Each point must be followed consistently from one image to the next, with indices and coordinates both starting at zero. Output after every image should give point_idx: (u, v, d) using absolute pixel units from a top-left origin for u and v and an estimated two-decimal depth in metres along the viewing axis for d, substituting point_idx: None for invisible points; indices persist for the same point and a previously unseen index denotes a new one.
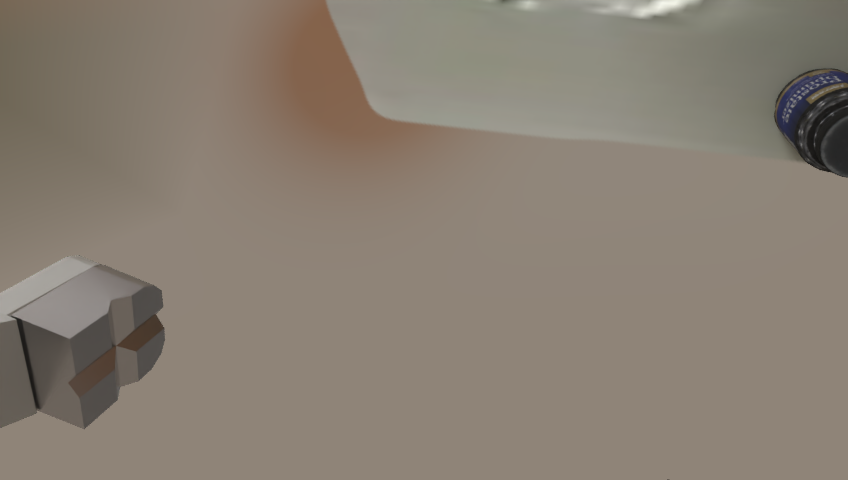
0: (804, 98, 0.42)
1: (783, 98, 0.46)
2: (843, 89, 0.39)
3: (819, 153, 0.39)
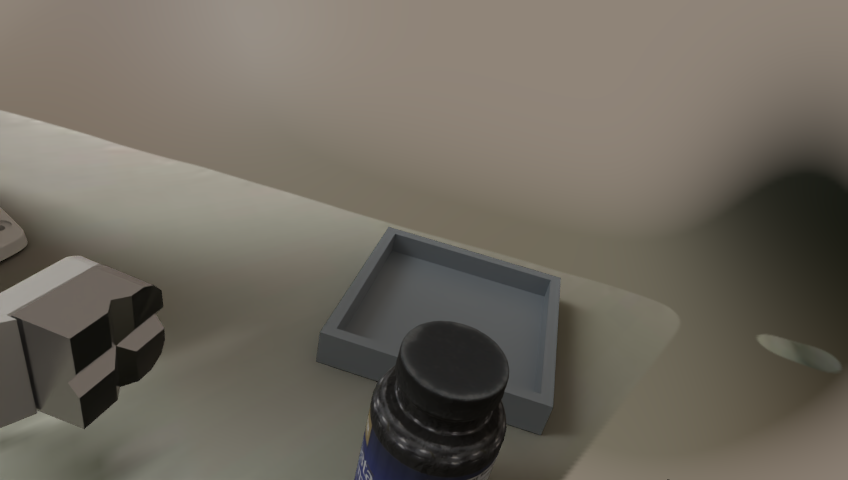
0: (366, 451, 0.25)
1: None
2: (377, 385, 0.26)
3: (439, 399, 0.22)
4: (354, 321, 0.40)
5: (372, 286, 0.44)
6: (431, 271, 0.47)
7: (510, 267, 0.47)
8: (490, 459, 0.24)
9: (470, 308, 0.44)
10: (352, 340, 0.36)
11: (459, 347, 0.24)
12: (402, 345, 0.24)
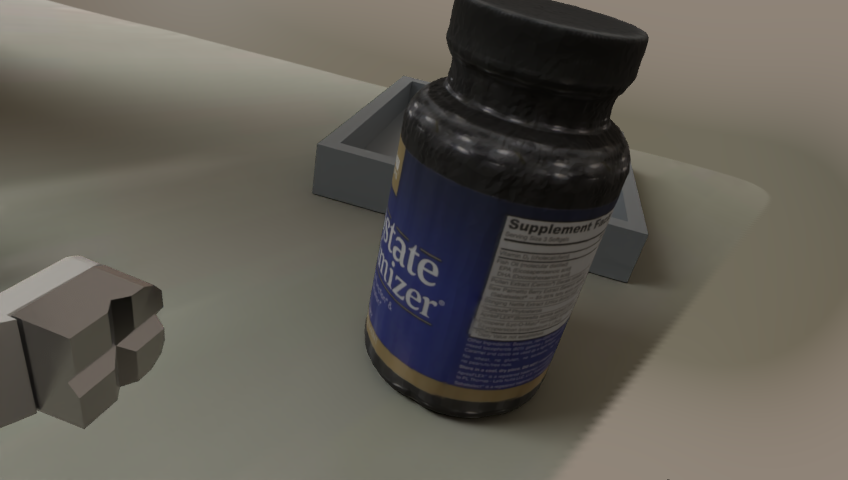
0: (394, 206, 0.15)
1: (387, 335, 0.16)
2: None
3: (539, 33, 0.12)
4: None
5: (385, 130, 0.34)
6: None
7: None
8: (613, 191, 0.14)
9: None
10: (363, 154, 0.26)
11: (555, 8, 0.14)
12: None
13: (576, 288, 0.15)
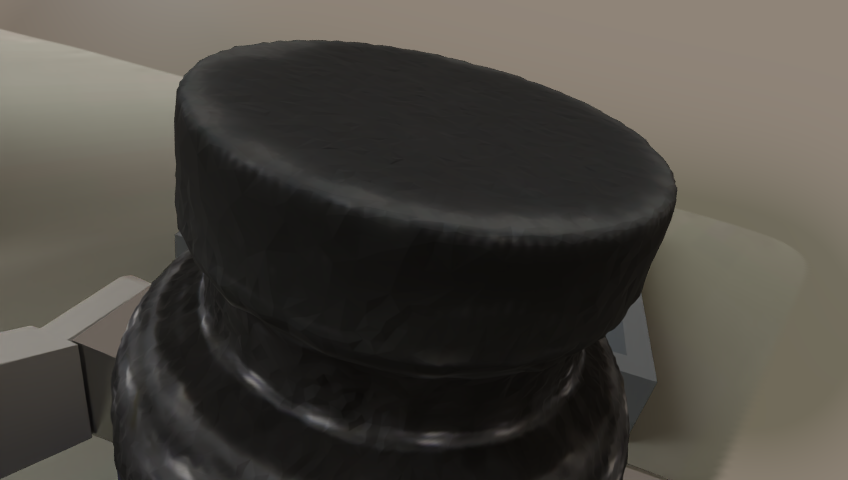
0: None
1: None
2: None
3: (334, 231, 0.04)
4: None
5: None
6: None
7: None
8: None
9: None
10: None
11: (454, 95, 0.06)
12: (208, 58, 0.05)
13: None
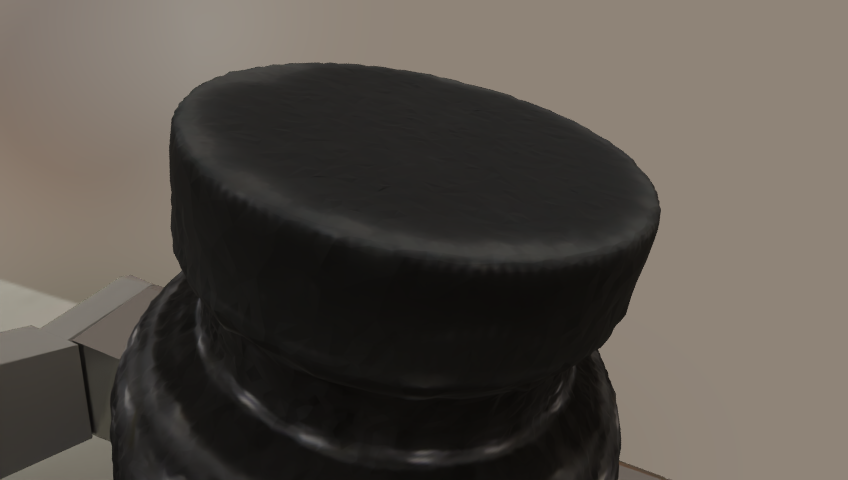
0: None
1: None
2: None
3: (321, 261, 0.04)
4: None
5: None
6: None
7: None
8: None
9: None
10: None
11: (444, 117, 0.06)
12: (203, 85, 0.06)
13: None
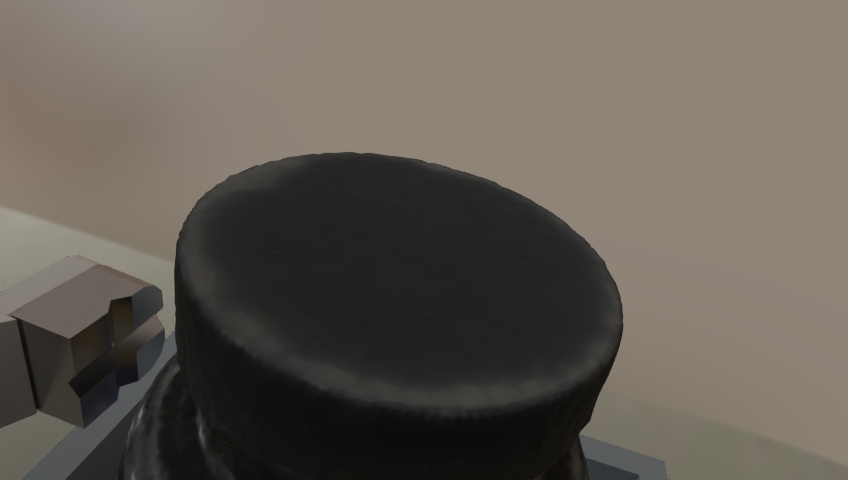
0: None
1: None
2: None
3: (309, 406, 0.04)
4: None
5: None
6: None
7: None
8: None
9: None
10: None
11: (430, 218, 0.07)
12: (205, 197, 0.06)
13: None
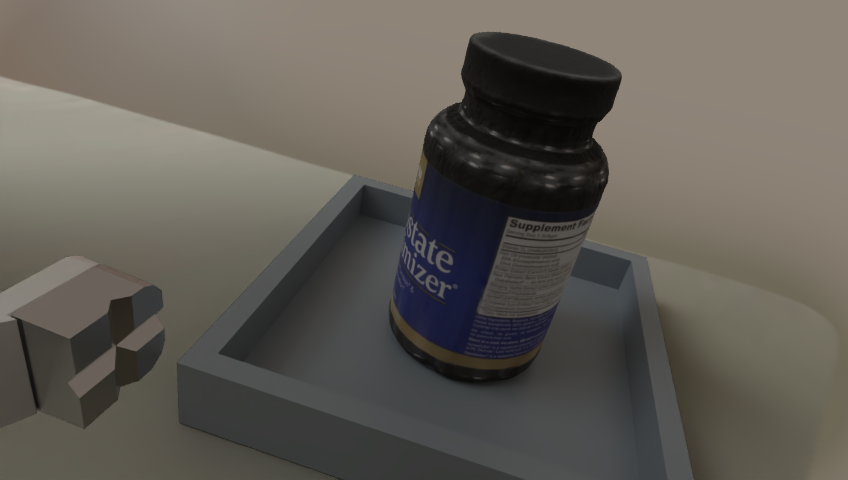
0: (417, 208, 0.19)
1: (409, 314, 0.20)
2: None
3: (533, 76, 0.15)
4: (273, 336, 0.20)
5: (318, 271, 0.24)
6: None
7: None
8: (593, 198, 0.17)
9: None
10: (249, 380, 0.16)
11: (548, 50, 0.18)
12: (472, 37, 0.17)
13: (564, 276, 0.19)
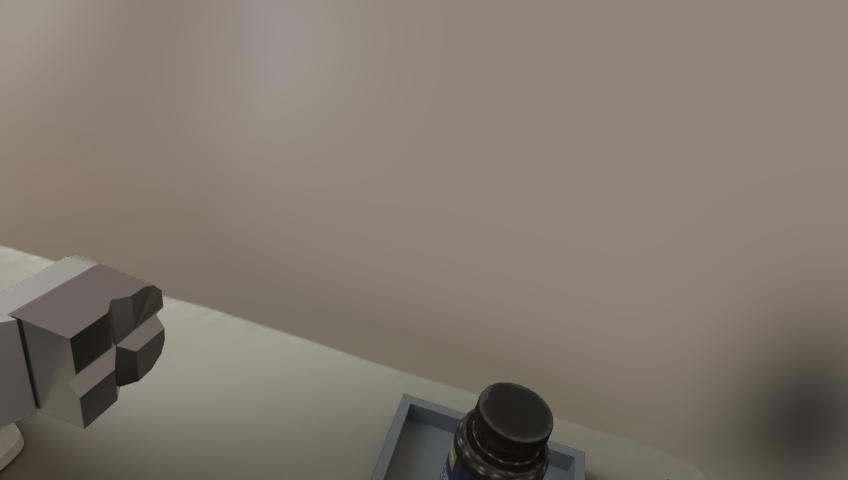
0: (450, 474, 0.36)
1: None
2: (457, 427, 0.37)
3: (508, 441, 0.32)
4: None
5: (388, 475, 0.42)
6: (449, 444, 0.45)
7: None
8: None
9: None
10: None
11: (517, 403, 0.35)
12: (479, 402, 0.34)
13: None
